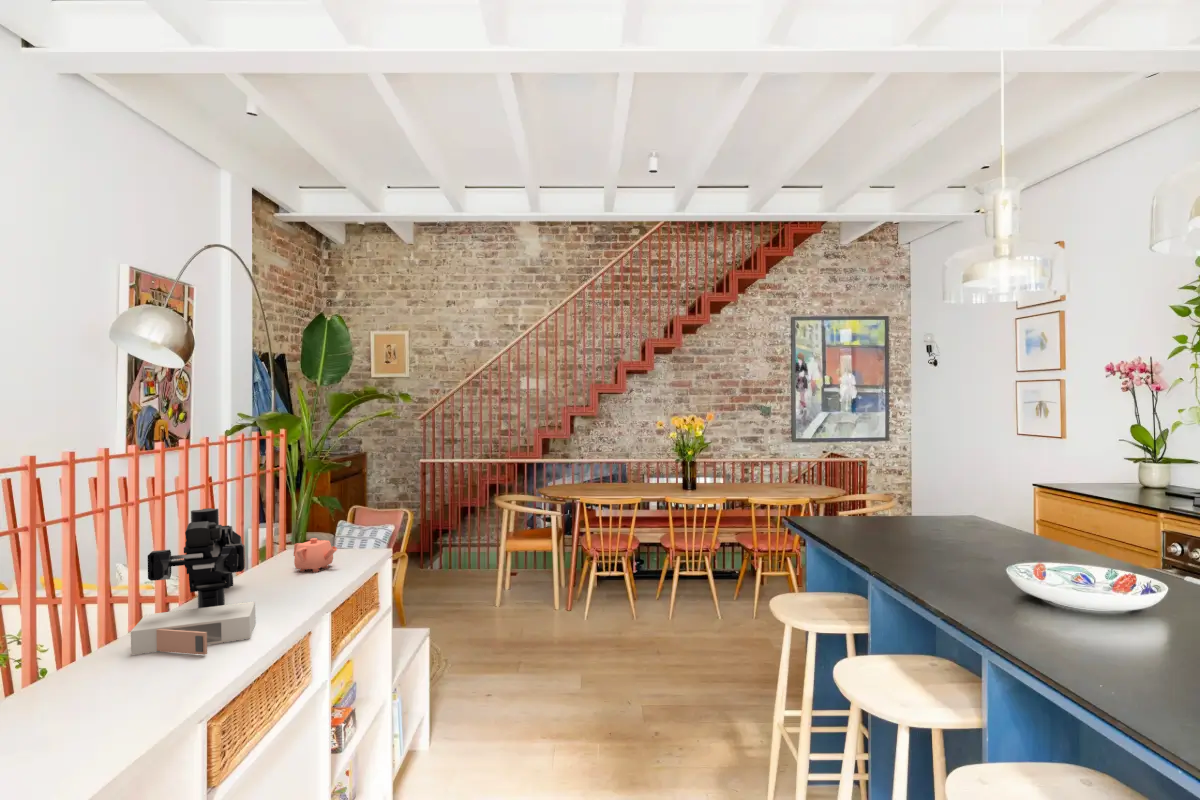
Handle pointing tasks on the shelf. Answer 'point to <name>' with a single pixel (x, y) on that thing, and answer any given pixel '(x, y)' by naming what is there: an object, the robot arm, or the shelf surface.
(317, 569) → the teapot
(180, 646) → the side door
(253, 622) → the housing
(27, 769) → the shelf surface
